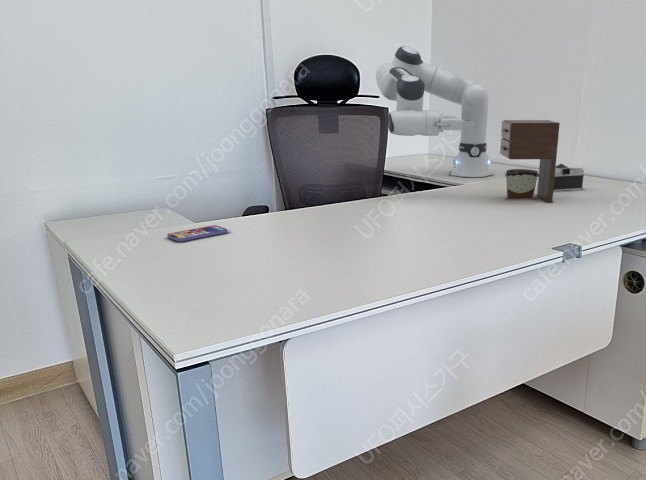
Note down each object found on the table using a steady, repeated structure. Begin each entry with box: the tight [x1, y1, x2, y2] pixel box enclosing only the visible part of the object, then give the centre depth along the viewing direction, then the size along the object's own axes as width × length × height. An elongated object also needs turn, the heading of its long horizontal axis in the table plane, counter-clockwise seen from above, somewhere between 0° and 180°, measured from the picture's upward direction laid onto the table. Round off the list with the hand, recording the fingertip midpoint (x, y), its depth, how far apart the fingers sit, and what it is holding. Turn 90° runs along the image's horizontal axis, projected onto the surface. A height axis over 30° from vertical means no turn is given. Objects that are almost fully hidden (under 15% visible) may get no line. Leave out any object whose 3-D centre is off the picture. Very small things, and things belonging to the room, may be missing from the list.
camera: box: [553, 163, 585, 192], centre depth 232 cm, size 16×9×10 cm, turn 108°
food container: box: [504, 168, 539, 200], centre depth 215 cm, size 12×6×10 cm, turn 94°
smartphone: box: [166, 224, 228, 242], centre depth 164 cm, size 1×7×15 cm
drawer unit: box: [499, 119, 561, 204], centre depth 210 cm, size 14×17×27 cm
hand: (472, 123), depth 212 cm, fingers open, 8 cm apart
